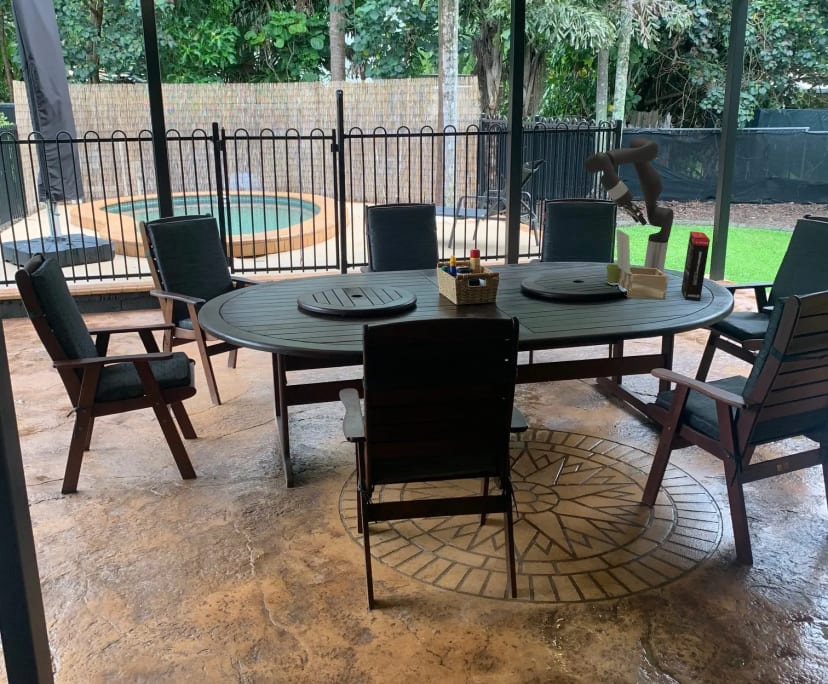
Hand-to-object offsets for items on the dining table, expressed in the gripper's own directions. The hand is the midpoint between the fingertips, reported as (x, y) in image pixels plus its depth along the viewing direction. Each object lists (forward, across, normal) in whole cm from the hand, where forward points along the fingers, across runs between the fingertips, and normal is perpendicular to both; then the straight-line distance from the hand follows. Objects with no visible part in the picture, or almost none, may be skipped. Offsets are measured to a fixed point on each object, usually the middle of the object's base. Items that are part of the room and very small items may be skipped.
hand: (641, 222), depth 327 cm
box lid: (+6, +1, +13) cm, 14 cm away
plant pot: (+20, +16, +24) cm, 35 cm away
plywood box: (+26, +1, +18) cm, 31 cm away
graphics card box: (+41, +1, +2) cm, 41 cm away
